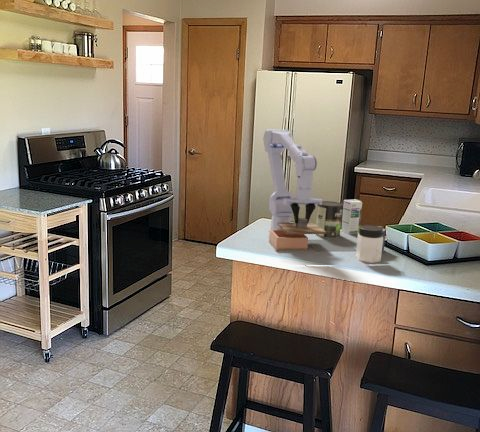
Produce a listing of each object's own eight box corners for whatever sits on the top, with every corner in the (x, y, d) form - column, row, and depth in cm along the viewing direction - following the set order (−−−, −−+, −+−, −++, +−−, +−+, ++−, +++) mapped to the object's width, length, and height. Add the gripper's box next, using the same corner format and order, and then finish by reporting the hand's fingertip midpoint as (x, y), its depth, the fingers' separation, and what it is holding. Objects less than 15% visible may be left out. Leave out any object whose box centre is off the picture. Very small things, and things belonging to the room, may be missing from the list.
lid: (277, 224, 200) (277, 214, 199) (313, 224, 202) (314, 214, 202) (287, 234, 185) (288, 223, 184) (326, 234, 188) (327, 223, 187)
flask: (378, 250, 195) (382, 223, 192) (386, 252, 193) (389, 224, 191) (367, 255, 188) (370, 227, 186) (374, 256, 186) (377, 228, 184)
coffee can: (343, 236, 213) (346, 203, 210) (334, 241, 205) (337, 207, 202) (320, 231, 219) (323, 199, 215) (311, 236, 210) (313, 203, 207)
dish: (268, 241, 199) (269, 229, 198) (298, 241, 201) (299, 229, 200) (276, 250, 188) (276, 238, 187) (307, 250, 190) (308, 237, 189)
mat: (304, 241, 203) (304, 239, 203) (342, 240, 206) (342, 239, 206) (317, 253, 188) (317, 251, 187) (358, 252, 190) (358, 251, 190)
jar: (367, 265, 176) (371, 232, 173) (350, 258, 183) (353, 226, 180) (385, 261, 181) (389, 229, 178) (368, 255, 187) (371, 224, 185)
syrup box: (348, 235, 215) (351, 201, 212) (340, 231, 220) (343, 199, 217) (359, 234, 217) (362, 201, 214) (351, 231, 222) (355, 198, 219)
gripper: (288, 189, 185) (285, 225, 188) (326, 189, 188) (323, 225, 191) (283, 186, 192) (281, 220, 195) (319, 186, 194) (316, 220, 197)
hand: (301, 222), depth 193 cm, fingers closed on lid, 3 cm apart
